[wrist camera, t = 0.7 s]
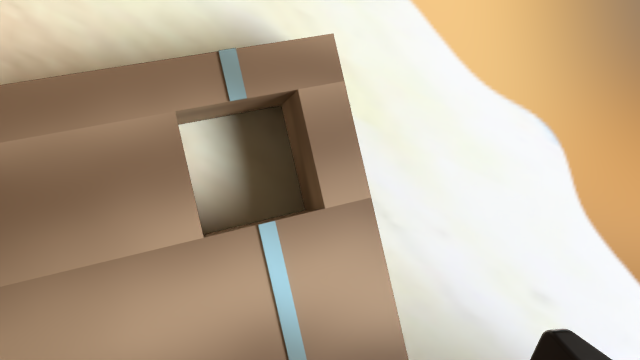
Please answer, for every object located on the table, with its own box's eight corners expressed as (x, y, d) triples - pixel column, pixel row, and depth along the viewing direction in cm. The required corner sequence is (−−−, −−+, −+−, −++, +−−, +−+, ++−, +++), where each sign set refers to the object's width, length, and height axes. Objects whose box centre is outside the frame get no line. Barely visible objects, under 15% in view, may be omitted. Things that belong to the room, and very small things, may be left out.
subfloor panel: (409, 478, 24) (445, 513, 21) (-148, 695, 19) (-206, 784, 16) (312, 56, 24) (334, 32, 22) (-267, 151, 19) (-346, 137, 16)
